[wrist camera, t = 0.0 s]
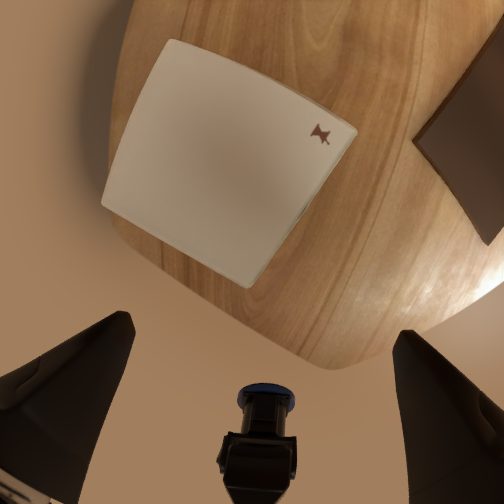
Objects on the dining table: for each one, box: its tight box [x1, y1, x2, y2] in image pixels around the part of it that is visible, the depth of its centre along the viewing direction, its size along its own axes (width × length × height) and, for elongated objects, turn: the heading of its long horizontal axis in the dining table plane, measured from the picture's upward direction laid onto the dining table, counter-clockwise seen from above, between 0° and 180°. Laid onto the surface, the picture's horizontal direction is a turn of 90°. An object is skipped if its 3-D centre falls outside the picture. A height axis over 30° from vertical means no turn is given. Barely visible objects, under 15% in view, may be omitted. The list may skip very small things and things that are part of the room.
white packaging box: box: [101, 39, 357, 289], centre depth 14 cm, size 7×7×13 cm
